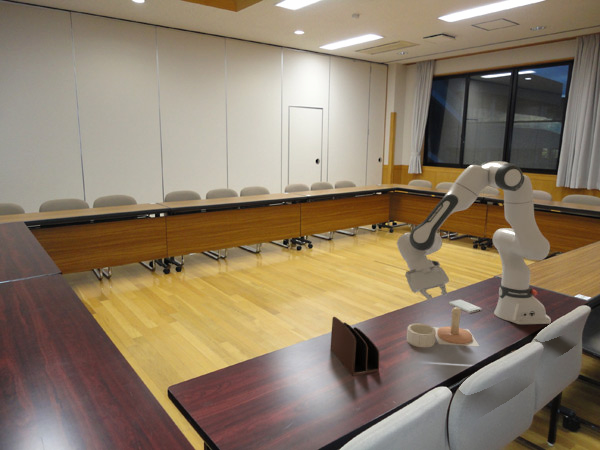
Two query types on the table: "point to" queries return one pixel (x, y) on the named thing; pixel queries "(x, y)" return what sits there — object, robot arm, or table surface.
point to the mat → (440, 341)
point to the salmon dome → (454, 330)
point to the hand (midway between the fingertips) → (438, 297)
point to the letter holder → (354, 348)
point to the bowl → (421, 335)
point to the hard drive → (465, 306)
